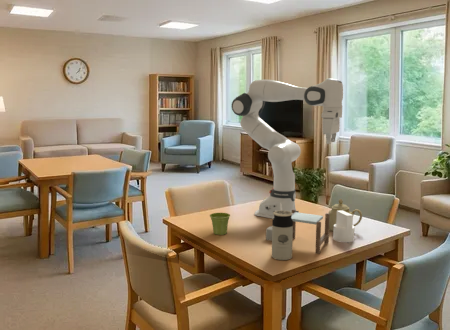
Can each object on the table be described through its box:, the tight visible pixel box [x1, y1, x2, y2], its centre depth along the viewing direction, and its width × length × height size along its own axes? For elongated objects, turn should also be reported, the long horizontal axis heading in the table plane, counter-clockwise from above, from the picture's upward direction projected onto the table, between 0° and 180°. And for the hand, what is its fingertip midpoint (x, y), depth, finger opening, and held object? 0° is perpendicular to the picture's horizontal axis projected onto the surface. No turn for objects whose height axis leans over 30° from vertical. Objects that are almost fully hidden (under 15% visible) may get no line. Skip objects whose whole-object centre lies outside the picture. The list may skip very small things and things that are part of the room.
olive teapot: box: [328, 198, 363, 232], centre depth 214 cm, size 15×11×15 cm
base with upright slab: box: [332, 210, 356, 243], centre depth 200 cm, size 9×9×12 cm
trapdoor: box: [291, 212, 324, 226], centre depth 191 cm, size 15×11×2 cm
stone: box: [265, 225, 272, 242], centre depth 200 cm, size 5×5×5 cm
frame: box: [292, 209, 330, 255], centre depth 191 cm, size 16×16×13 cm
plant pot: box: [209, 212, 231, 236], centre depth 208 cm, size 9×9×9 cm
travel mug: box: [271, 210, 294, 261], centre depth 177 cm, size 8×8×18 cm
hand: (330, 142), depth 214 cm, fingers open, 8 cm apart
